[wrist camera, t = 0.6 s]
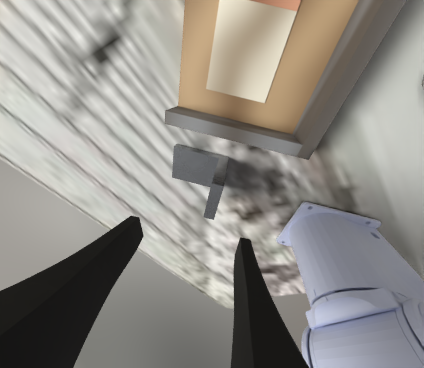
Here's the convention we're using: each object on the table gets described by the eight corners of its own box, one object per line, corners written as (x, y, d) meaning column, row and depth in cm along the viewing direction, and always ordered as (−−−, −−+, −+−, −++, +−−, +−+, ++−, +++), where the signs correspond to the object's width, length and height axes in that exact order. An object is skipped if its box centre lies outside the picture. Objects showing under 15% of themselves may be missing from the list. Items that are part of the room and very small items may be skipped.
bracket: (228, 156, 17) (223, 186, 12) (220, 185, 20) (213, 219, 15) (177, 143, 17) (151, 167, 12) (174, 173, 20) (152, 203, 15)
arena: (403, -59, 9) (489, -135, 6) (295, 144, 15) (308, 159, 12) (195, -105, 9) (172, -201, 6) (179, 116, 16) (165, 123, 13)
